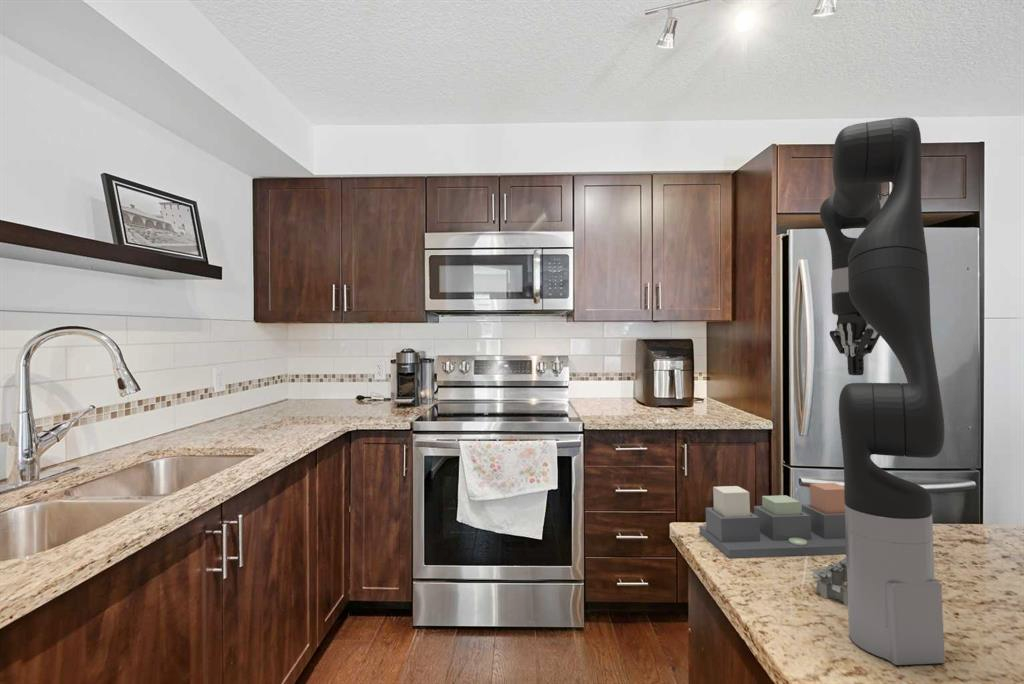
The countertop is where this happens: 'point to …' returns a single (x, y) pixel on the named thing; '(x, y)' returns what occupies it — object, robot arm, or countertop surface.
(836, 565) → the grey ruined fortress
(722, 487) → the cream key
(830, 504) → the terracotta key
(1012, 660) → the countertop surface
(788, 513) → the sage key
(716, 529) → the key panel
